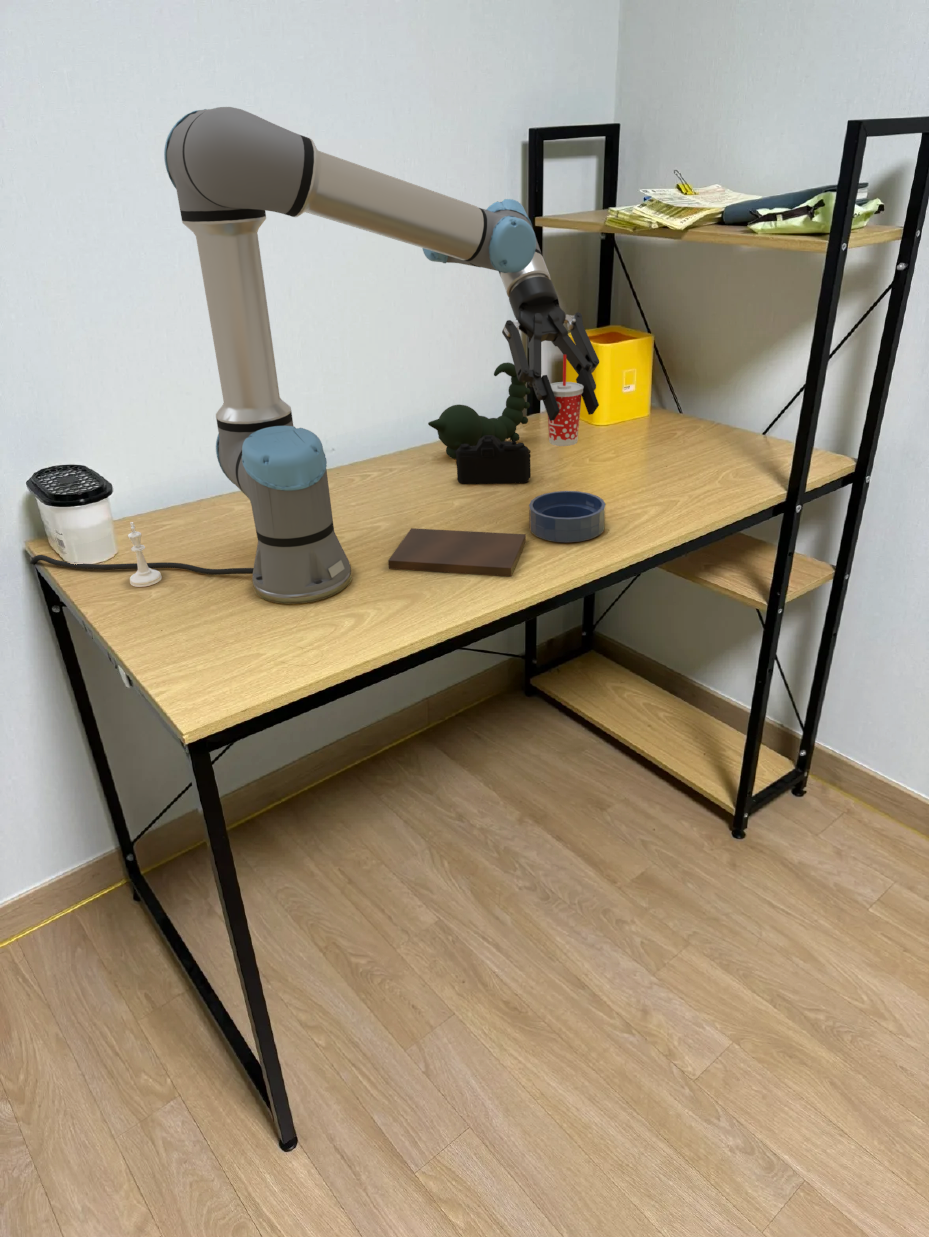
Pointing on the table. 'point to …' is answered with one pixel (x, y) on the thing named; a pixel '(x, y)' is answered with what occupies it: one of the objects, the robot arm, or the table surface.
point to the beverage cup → (566, 411)
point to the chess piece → (141, 563)
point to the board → (458, 552)
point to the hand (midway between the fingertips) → (574, 412)
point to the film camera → (493, 462)
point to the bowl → (567, 516)
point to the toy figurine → (483, 418)
